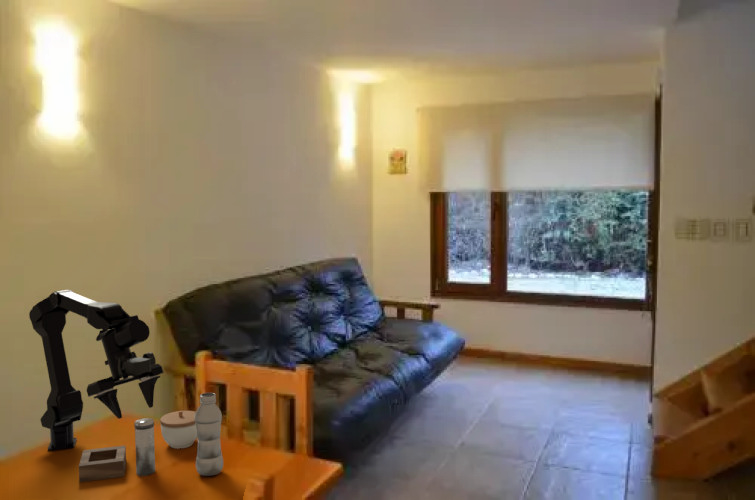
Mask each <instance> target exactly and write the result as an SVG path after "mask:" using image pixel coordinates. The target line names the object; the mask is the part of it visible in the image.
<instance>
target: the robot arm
mask: <svg viewBox="0 0 755 500" xmlns="http://www.w3.org/2000/svg"><path fill="white" fill-rule="evenodd" d="M69 312H71V313H73V314H77V315H79V316H80V317H83V318H85V319H86V321H87V323H88V325H89V326H91V327H93V328H94V329H95V330H99V333H98V335H97V336H96V338H95V340H96V342H100V341H101V343H102V346H103V349H104V353H105V356H106V359H107V360H104V364H105V366H108V367H109V370H110V374H111V376H109V377H106V378H102V379H99V380H97V381H94V382H92V383H89V384H88V385H87V388H86V393H87V397H93V399H94V400H96V399H98V400H99V402H101V403H102V404H103V405H105V407H107V408H108V409H109V411H110V412H111V413H112V414H113V415H114V416H115V417H116V418H117V419H118V420H120V419H122V418H123V415H122V410H121V407H120V403H119V400H118V398H117V397H118V396H117V393H118V388H115V387H117V386H121V385H124V384H128V383H130V382H133V381H134V382H135V381H137V380H138V381H140V382H138V386H139V388H140V392H141V393H142V395H143V398H144V401H145V403H146V404H147V406H148V408H150V409H151V408H153V407H154V397H155V395H154V394H155V388H156V387H155V386H156V384H157V381H158V379H160V378H161V375H162V374H164V373H165V372H164V370H163V366H162V365H161V364H160V363H156V357H155V355H154V353H153V352H152V351H151V352H150V351H149V352H145V353H143V355H142V356H140V357H139V356H137V354H136V352H135V351H131V348H132V347H134V346H137V345H139V344H141V343H143V342H145V341H147V340H148V338H149V337H150V327H149V326H148V324H147V323H146V322H145V321H143V320H141V319H139V315H138V314H137V315H130V314H128V312H126V311H125V310H124V309H123V307H122V305H120V304H119V303H118V302H117V303H116V302H109V301H108V302H107V301H105V302H100V301H96V300H94V299H90V298H88V297H86V296H83V295H81V294H77V293H75V292H74V291H72V290H70V289H64V290H63V289H62V290H56V291H53V292H51V293H50V294H49V296H48V297H46V298H43V300H41V301H39V302H37V303H36V304H35V305H33V306H32V308H31V310H30V311H29V314H28V316H29V317H28V318H29V320H30V321H31V322H30V323H31V324H32V329H33V330H34V331H35V332H36V333H37V334H38V335H39V336H40V338H41V339H42V340H41V341H42V345H43V346H42V347H43V352H44V357H45V363H46V367H47V373H48V379H49V384H50V392H49V393H48V394H49V395H48V396H47V399H46V408H47V409H46V410H45V412H44V413H43V414H42V416H41V417H40V423H41V427H42V428H46V429H49V435H50V436H49V437H50V442H49V444H48V446H47V451H56V450H65V449H73V448H75V445H76V442H77V437H74V423H75V422H79V421H81V419H82V415H83V414H82V413H83V410H84V402H83V399H82V392H81V390H80V389H78V390H77V389H76V388H74V386H73V385H72V381H71V378H70V372H69V371H70V370H69V365H68V361H67V355H66V350H65V344H64V340H63V338H64V337H63V332H64V329H65V327H66V324H67V314H68V313H69ZM114 388H115V389H114Z"/></svg>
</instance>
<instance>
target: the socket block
mask: <svg viewBox="0 0 755 500" xmlns="http://www.w3.org/2000/svg"><path fill="white" fill-rule="evenodd" d="M126 448H127V447H126V445H125V444H124V445H118V446H110V447H109V446H108V447H101V448H91V449H83V450H82V454H81V457H80V461H79V464H78V478H79V480H78V481H79V483H83V482H84V483H85V482H86V483H87V482H92V481H93V482H94V481H101V480H107V479H108V480H109V479H115V478H122V477H125V473H126V464H127V451H126Z"/></svg>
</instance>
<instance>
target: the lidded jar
mask: <svg viewBox="0 0 755 500" xmlns="http://www.w3.org/2000/svg"><path fill="white" fill-rule="evenodd" d="M195 413H196V411H194V410H177V411H172V412H169V413H166V414H164V415H162V416H161V417H160V421H159V422H160V430H161V435H162V438H163V440H164V441H165V443H167V445H169V446H170V448H171V449H175V450H176V449H177V450H178V449H180V448H181V449H186V448H190V447H191V446H193V444H194V442H195V441H196V440H197V439H198V438H197V430H196V425H195V418H194V416H195Z"/></svg>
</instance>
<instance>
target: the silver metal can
mask: <svg viewBox="0 0 755 500" xmlns="http://www.w3.org/2000/svg"><path fill="white" fill-rule="evenodd" d="M133 425H134V436H135V437H134V440H135V441H134V442H135V467H136V468H135V470H136V475H137V476H139V477H146V476H152V474H154V473H156V460H155V459H156V456H155V453H156V452H155V421H154V418H150V417H145V418H144V417H143V418H140V419H136V420H135V421H134V424H133Z"/></svg>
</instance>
